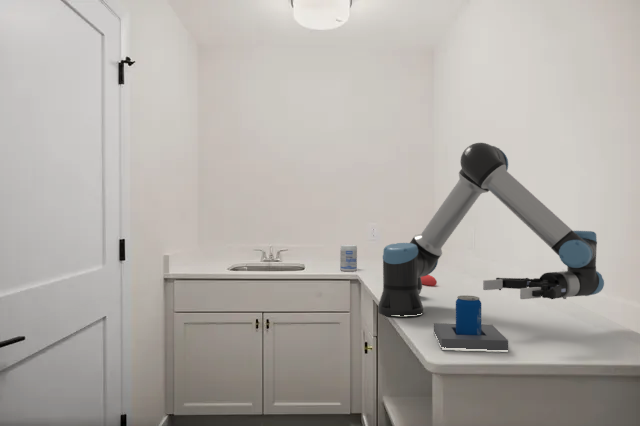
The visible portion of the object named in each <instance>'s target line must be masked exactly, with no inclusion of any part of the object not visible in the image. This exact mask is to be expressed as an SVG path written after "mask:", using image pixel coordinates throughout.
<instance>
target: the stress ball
mask: <svg viewBox="0 0 640 426" xmlns="http://www.w3.org/2000/svg"><path fill="white" fill-rule="evenodd" d="M421 281H422V286H423V285H424V286H428V287H435V286H436V285H437V283H438V282H437V279H436V278H435V277H433V276H432V275H430V274H428V275H426V276H423V277H421Z"/></svg>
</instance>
